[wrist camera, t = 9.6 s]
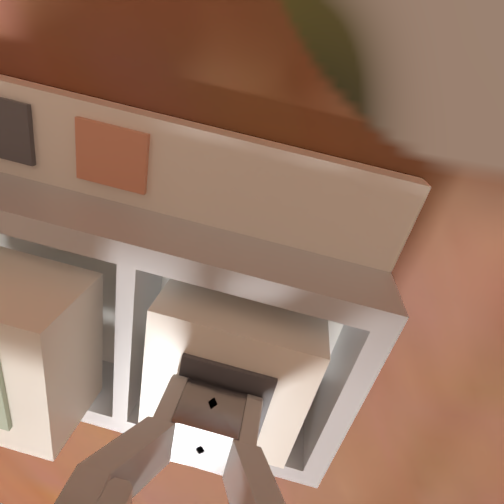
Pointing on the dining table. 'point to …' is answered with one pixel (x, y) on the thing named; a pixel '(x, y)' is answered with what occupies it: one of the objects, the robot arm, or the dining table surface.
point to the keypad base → (208, 237)
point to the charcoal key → (237, 356)
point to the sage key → (47, 350)
